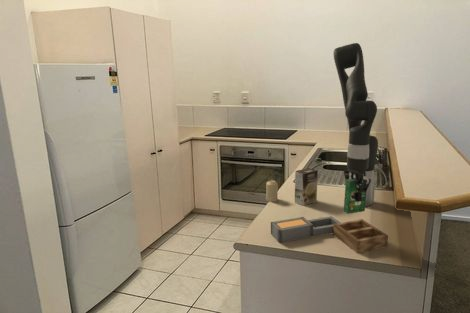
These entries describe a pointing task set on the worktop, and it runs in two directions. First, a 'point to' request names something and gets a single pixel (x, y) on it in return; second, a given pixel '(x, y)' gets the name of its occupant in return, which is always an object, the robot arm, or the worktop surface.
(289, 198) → the worktop surface
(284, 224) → the key
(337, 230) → the walnut rack
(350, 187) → the coffee box
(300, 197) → the coffee box
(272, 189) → the candle
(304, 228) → the stand
